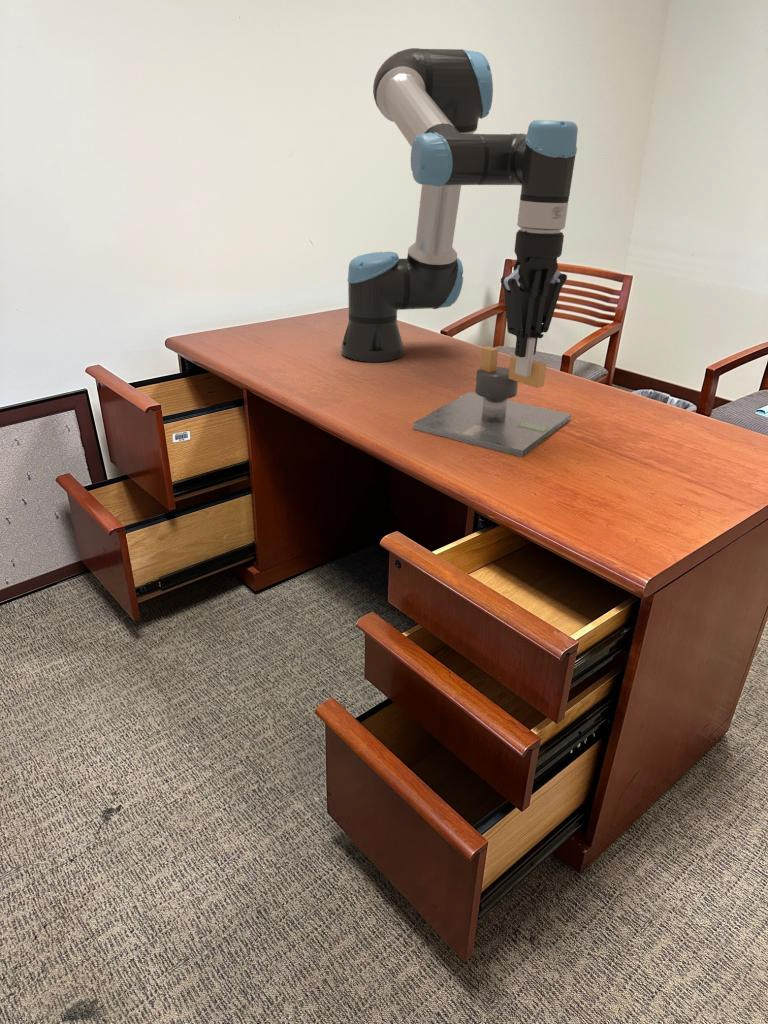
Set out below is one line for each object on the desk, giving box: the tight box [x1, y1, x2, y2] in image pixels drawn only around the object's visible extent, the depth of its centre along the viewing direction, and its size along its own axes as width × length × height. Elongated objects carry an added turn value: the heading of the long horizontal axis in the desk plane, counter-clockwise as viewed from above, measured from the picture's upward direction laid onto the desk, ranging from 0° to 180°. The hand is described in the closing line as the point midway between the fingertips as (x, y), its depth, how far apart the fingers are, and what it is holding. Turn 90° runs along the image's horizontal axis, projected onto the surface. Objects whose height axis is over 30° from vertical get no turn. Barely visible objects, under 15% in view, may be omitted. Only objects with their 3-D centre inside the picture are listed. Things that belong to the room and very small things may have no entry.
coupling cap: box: [474, 345, 547, 400], centre depth 132 cm, size 14×8×8 cm, turn 40°
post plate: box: [412, 391, 572, 458], centre depth 138 cm, size 22×22×6 cm
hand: (522, 374), depth 128 cm, fingers closed
